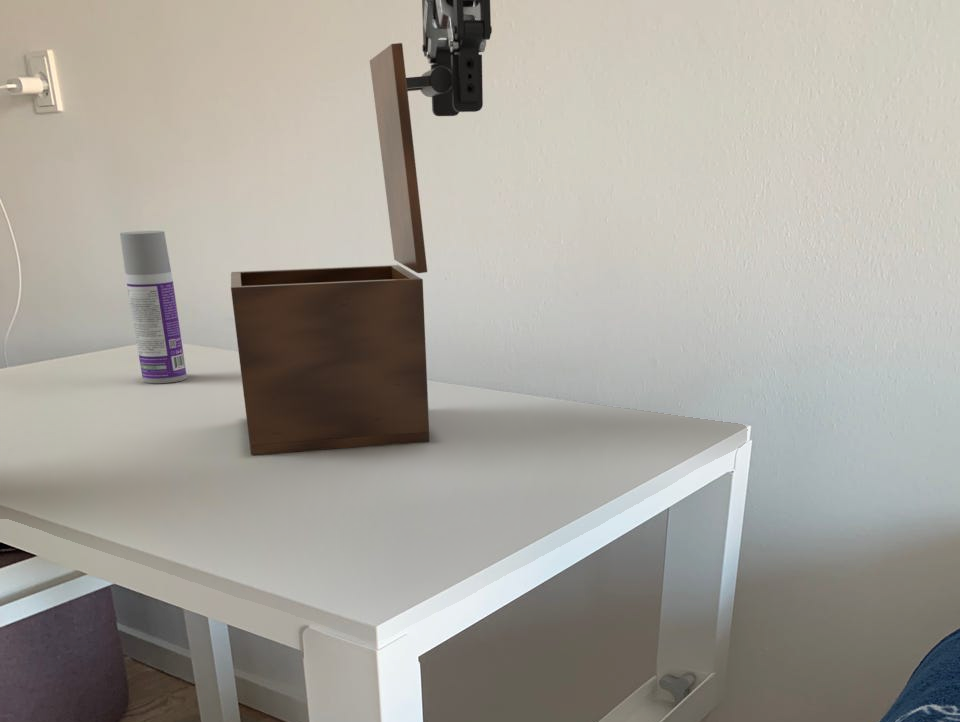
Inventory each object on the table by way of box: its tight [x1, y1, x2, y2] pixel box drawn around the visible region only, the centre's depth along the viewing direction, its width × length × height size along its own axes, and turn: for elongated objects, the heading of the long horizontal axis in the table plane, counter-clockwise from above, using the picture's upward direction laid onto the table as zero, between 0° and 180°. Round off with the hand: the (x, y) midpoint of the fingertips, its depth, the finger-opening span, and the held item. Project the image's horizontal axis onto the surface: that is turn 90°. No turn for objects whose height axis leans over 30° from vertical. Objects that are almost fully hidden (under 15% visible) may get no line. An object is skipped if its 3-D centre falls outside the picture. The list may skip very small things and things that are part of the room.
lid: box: [369, 42, 452, 274], centre depth 80 cm, size 15×13×5 cm
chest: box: [230, 264, 430, 456], centre depth 85 cm, size 15×13×13 cm
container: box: [119, 230, 188, 384], centre depth 107 cm, size 5×5×15 cm
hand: (456, 113), depth 79 cm, fingers open, 8 cm apart
